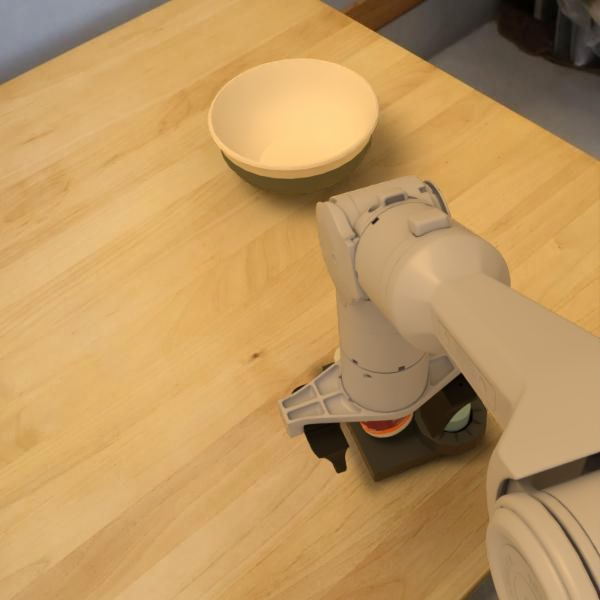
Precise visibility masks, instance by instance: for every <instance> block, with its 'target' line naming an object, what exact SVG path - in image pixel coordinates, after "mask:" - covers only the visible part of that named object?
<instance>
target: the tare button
mask: <svg viewBox="0 0 600 600" xmlns="http://www.w3.org/2000/svg"><path fill="white" fill-rule="evenodd" d="M470 409H471V405H470V403H469V404H468V405H466V406H465V407H463V408H462V409H461V410H460V411H458V412H457V413H456V414H455V416H454V417H453V418H452V419H451V420H450V422H449V423H448V425H447V426H446V427H445V429H444V430H445V431H449V432H453V431H458V430H461V429H462V428H464V427H465V426H466V425H467V423H468V421H469V416H470Z"/></svg>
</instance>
